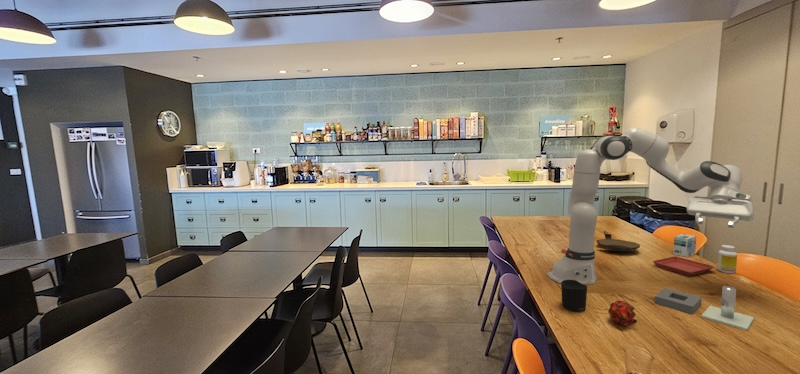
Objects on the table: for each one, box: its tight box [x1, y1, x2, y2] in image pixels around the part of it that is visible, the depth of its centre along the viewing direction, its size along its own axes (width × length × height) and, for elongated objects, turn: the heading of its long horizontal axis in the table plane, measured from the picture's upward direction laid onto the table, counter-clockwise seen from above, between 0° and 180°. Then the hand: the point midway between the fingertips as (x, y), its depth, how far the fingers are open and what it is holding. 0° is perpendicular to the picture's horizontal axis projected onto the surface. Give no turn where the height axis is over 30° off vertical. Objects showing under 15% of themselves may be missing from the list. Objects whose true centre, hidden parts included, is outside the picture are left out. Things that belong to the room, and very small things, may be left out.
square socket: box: [654, 287, 703, 315], centre depth 135 cm, size 12×12×3 cm
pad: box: [701, 305, 755, 331], centre depth 123 cm, size 12×12×1 cm
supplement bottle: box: [716, 244, 738, 274], centre depth 164 cm, size 7×7×13 cm
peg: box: [720, 285, 737, 319], centre depth 122 cm, size 4×4×11 cm
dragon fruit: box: [607, 300, 638, 326], centre depth 123 cm, size 8×8×12 cm
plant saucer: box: [652, 255, 715, 277], centre depth 170 cm, size 18×18×3 cm
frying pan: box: [596, 230, 641, 252], centre depth 205 cm, size 22×30×8 cm
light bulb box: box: [673, 233, 697, 258], centre depth 190 cm, size 11×7×11 cm, turn 118°
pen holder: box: [560, 280, 588, 313], centre depth 136 cm, size 9×9×10 cm
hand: (714, 224), depth 136 cm, fingers open, 8 cm apart
